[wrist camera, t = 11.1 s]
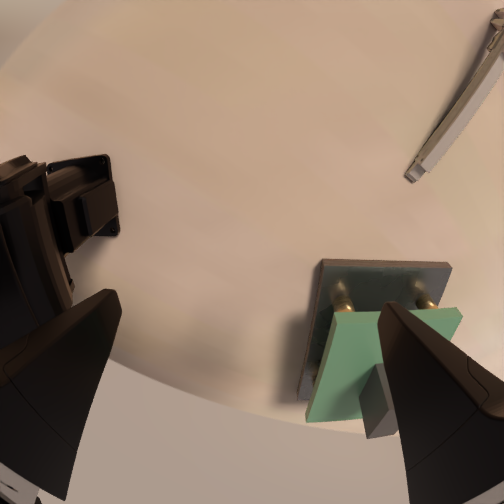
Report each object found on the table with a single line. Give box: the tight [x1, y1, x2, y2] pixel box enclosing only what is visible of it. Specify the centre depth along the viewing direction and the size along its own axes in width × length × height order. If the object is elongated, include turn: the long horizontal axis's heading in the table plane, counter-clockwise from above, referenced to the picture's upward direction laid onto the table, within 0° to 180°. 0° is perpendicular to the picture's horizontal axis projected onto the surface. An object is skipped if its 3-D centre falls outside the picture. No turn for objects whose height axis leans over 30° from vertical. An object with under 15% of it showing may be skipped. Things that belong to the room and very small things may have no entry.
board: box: [305, 307, 463, 439], centre depth 19 cm, size 11×14×6 cm
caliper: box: [405, 8, 504, 183], centre depth 11 cm, size 20×1×6 cm, turn 151°
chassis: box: [297, 259, 452, 400], centre depth 24 cm, size 12×18×4 cm, turn 179°
